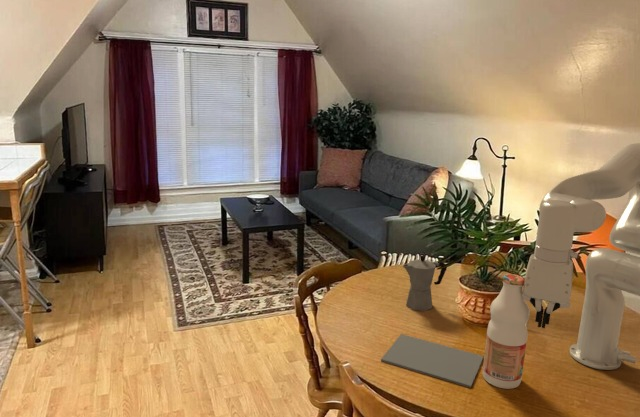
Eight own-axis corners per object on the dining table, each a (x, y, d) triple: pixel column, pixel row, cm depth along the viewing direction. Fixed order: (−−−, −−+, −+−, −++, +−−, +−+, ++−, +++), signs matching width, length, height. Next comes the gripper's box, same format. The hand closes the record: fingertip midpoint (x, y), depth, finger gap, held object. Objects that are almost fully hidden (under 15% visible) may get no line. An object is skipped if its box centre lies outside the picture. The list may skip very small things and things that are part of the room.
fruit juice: (475, 370, 129) (486, 271, 122) (507, 367, 130) (520, 269, 123) (494, 391, 120) (507, 286, 113) (528, 388, 121) (543, 283, 115)
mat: (483, 357, 135) (483, 356, 134) (470, 387, 121) (470, 385, 121) (401, 335, 146) (401, 333, 146) (380, 360, 132) (381, 358, 132)
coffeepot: (405, 312, 161) (408, 261, 156) (396, 300, 170) (399, 251, 165) (449, 310, 163) (453, 259, 159) (438, 298, 172) (442, 250, 168)
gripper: (588, 254, 113) (576, 326, 117) (519, 244, 119) (510, 312, 124) (588, 264, 106) (575, 340, 111) (515, 252, 113) (506, 324, 117)
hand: (541, 325), depth 117 cm, fingers closed
